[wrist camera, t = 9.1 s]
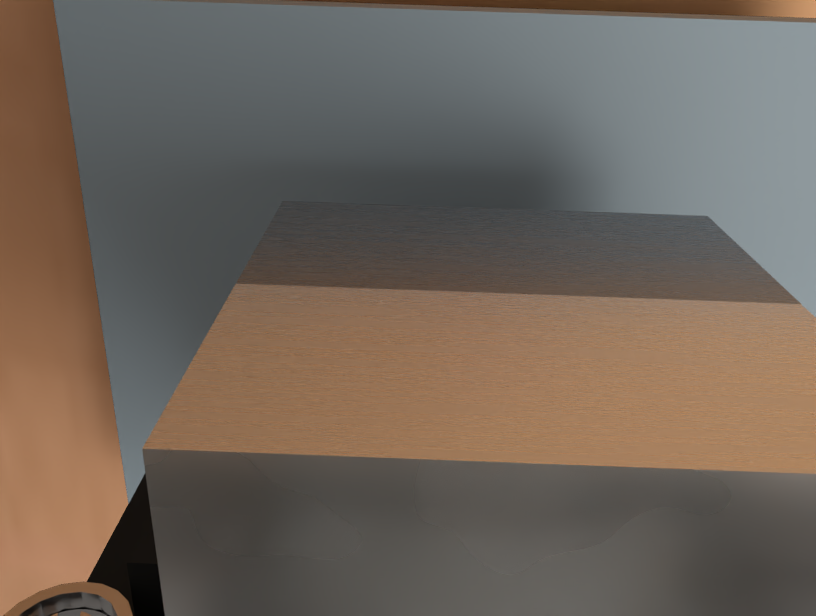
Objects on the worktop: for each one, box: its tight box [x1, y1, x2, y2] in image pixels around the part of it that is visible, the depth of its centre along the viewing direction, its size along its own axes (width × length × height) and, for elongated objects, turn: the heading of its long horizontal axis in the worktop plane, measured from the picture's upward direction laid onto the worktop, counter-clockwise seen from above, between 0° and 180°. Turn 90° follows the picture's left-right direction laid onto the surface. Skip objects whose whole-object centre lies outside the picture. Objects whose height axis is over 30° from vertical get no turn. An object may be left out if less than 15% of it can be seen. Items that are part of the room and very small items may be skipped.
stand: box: [53, 0, 816, 503], centre depth 17 cm, size 14×12×4 cm
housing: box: [142, 201, 816, 616], centre depth 10 cm, size 7×6×6 cm
